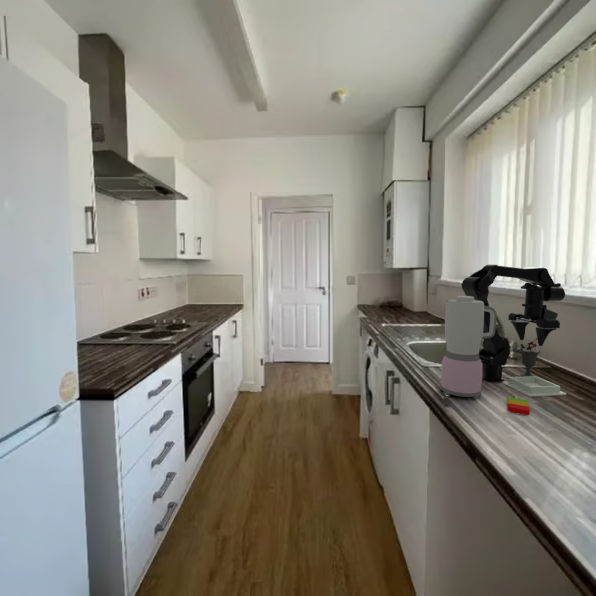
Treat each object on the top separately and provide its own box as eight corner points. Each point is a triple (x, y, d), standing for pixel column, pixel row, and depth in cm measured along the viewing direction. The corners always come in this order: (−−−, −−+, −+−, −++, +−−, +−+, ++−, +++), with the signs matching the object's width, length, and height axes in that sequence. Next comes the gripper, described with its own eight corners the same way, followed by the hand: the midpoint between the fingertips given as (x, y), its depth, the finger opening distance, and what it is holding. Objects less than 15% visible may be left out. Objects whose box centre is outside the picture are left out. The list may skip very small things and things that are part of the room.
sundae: (542, 379, 132) (545, 339, 131) (524, 379, 133) (527, 339, 131) (531, 373, 139) (534, 335, 137) (513, 373, 139) (516, 335, 138)
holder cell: (529, 396, 116) (530, 389, 116) (502, 382, 129) (502, 376, 128) (566, 394, 117) (566, 387, 117) (535, 381, 130) (536, 374, 130)
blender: (443, 399, 114) (448, 298, 110) (436, 385, 126) (440, 294, 122) (497, 403, 110) (504, 299, 107) (485, 389, 122) (491, 295, 119)
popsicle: (507, 413, 104) (507, 407, 104) (506, 396, 117) (506, 390, 117) (530, 417, 102) (530, 411, 101) (526, 399, 115) (526, 393, 115)
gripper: (576, 304, 125) (572, 348, 126) (534, 298, 143) (531, 337, 145) (546, 304, 123) (543, 349, 125) (508, 298, 142) (506, 337, 143)
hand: (530, 343), depth 134 cm, fingers open, 9 cm apart
